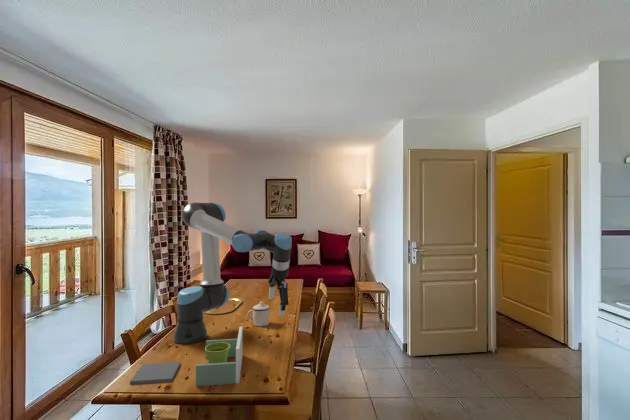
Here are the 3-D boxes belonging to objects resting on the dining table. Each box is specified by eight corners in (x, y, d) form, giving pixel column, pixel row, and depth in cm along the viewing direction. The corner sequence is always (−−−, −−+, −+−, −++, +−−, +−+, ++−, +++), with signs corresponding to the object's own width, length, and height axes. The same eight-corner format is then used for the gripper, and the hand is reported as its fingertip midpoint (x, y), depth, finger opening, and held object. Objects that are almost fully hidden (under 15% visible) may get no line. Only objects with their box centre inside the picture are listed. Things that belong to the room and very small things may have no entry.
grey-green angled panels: (195, 386, 122) (195, 351, 122) (206, 357, 146) (206, 328, 146) (239, 383, 124) (239, 348, 124) (242, 355, 148) (242, 326, 148)
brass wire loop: (245, 300, 240) (245, 298, 240) (229, 315, 205) (229, 313, 205) (218, 300, 241) (218, 297, 241) (198, 315, 206) (198, 312, 206)
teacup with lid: (270, 321, 193) (270, 300, 193) (268, 326, 184) (268, 304, 184) (249, 321, 194) (249, 300, 194) (245, 326, 185) (245, 304, 185)
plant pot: (223, 376, 129) (223, 352, 129) (200, 373, 131) (200, 350, 131) (234, 365, 138) (234, 343, 138) (212, 363, 140) (212, 341, 140)
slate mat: (129, 384, 123) (129, 381, 123) (142, 366, 137) (142, 364, 137) (172, 381, 125) (172, 378, 125) (180, 364, 139) (180, 361, 139)
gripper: (299, 280, 152) (294, 321, 159) (278, 253, 172) (274, 290, 179) (283, 282, 148) (278, 324, 155) (263, 255, 169) (260, 293, 176)
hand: (276, 306), depth 167 cm, fingers open, 13 cm apart
